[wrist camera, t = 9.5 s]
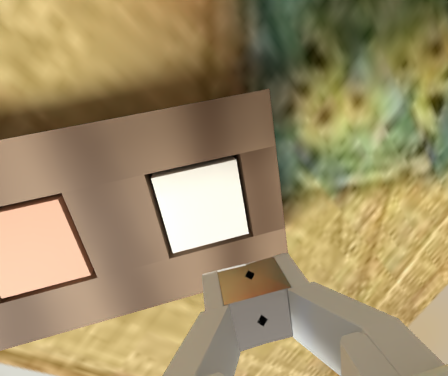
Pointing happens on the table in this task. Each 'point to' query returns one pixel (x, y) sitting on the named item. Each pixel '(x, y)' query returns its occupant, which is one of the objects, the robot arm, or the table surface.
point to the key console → (139, 207)
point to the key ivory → (201, 203)
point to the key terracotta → (39, 246)
